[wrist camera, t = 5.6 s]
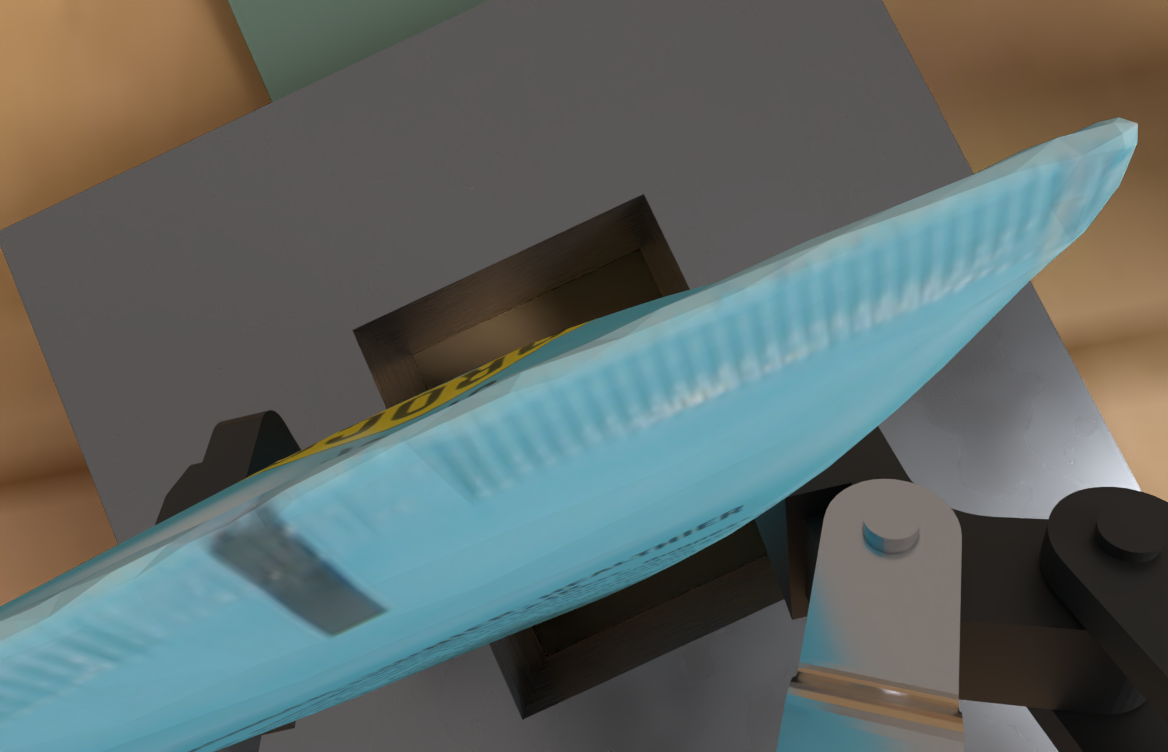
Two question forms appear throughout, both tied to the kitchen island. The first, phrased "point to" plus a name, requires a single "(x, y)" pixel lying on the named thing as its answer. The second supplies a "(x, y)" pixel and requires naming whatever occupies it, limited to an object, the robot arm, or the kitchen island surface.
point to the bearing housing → (518, 274)
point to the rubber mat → (329, 34)
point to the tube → (531, 476)
